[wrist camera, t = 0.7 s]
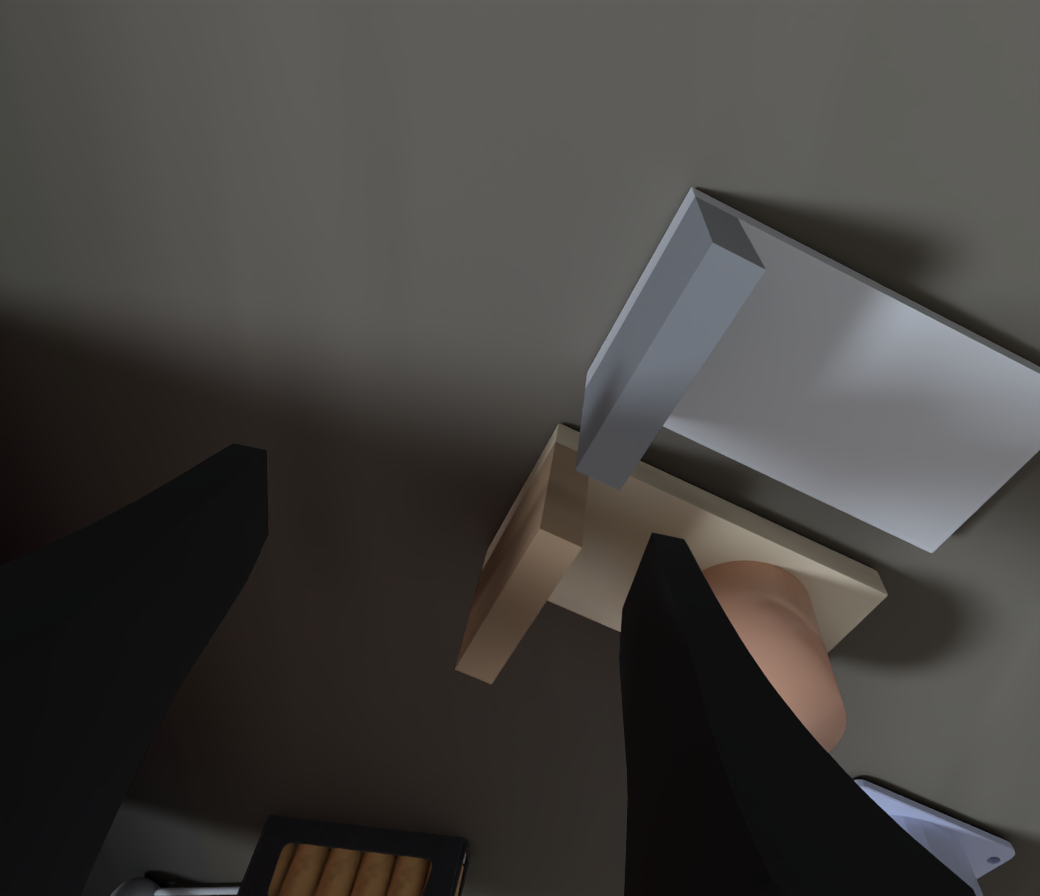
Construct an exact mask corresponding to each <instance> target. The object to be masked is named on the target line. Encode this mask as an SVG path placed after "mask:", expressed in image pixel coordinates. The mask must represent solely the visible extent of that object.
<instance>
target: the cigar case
mask: <svg viewBox="0 0 1040 896" xmlns="http://www.w3.org/2000/svg"><path fill="white" fill-rule="evenodd" d="M469 862H470V858H469V850H468V842H467V841H466V840H465V839H464V838H461V837H452V836H444V835H435V834H426V833H417V832H409V831H400V830H391V829H383V828H374V827H365V826H357V825H348V824H339V823H330V822H322V821H313V820H304V819H296V818H287V817H278V816H269V817H268V819H267V822H266V824H265V826H264V829H263V831H262V834H261V836H260V839H259V841H258V844H257V846H256V849H255V851H254V853H253V856H252V858H251V861H250V863H249V866H248V868H247V871H246V873H245V875H244V878H243V880H242V883H241V885H240V888H239V890H238V893H237V895H236V896H386V895H387V896H422V894H423V896H461V895H462V890H463V886H464V882H465V878H466V874H467V870H468V866H469ZM426 878H427V879H426ZM425 882H426V883H425ZM424 886H425V888H424ZM423 890H424V892H423Z"/></svg>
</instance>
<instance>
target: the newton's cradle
mask: <svg viewBox="0 0 1040 896" xmlns="http://www.w3.org/2000/svg"><path fill="white" fill-rule="evenodd" d="M239 888H240V886H236V887H189V888H160V886H159V885H158V884H157V883H155V882H154V881H152V880H151V879H149V878H141V877H136V878H134V879H131V880H129V881H126V882H124V883H123V884H122V885H121V886H120V887H118V888H117V889H116V890H115V891H114V892H113V893H112V894H111V896H177V895H233V894H237V893H238V890H239Z"/></svg>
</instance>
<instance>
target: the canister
mask: <svg viewBox="0 0 1040 896" xmlns="http://www.w3.org/2000/svg"><path fill="white" fill-rule="evenodd" d="M702 572H703V574H704V576H705V578H706V580H707V582H708V583H709V585H710V587H711V589H712V591H713V592H714V594H715V596H716V598H717V600H718V601H719V603H720V605H721V607H722V608H723V610H724V612H725V613H726V615H727V617H728V618H729V620H730V622H731V623H732V625H733V627H734V628H735V630H736V632H737V633H738V635H739V637H740V638H741V640H742V641H743V643H744V645H745V646H746V648H747V649H748V651H749V652H750V654H751V655H752V657H753V658H754V660H755V661H756V663H757V664H758V666H759V667H760V669H761V670H762V671H763V673H764V674H765V676H766V677H767V679H768V680H769V681H770V683H771V684H772V685H773V687H774V688H775V689H776V691H777V692H778V694H779V695H780V696H781V697H782V699H783V700H784V701H785V702H786V704H787V705H788V706H789V707H790V709H791V710H792V711H793V712H794V714H795V715H796V716H797V717H798V719H799V720H800V721H801V722H802V724H803V725H804V726H805V727H806V728H807V730H808V731H809V732H810V733H811V734H812V735H813V737H814V738H815V739H816V740H817V741H818V742H819V744H820V745H821V746H822V747H823V748H824V749H825V750H826V751H827V752H828V753H829V752H830V751H831V750H832V749H833V748H834V747H835V746H836V745H837V744H838V743H839V741H840V740H841V738H842V736H843V734H844V732H845V728H846V721H847V718H846V711H845V708H844V705H843V702H842V699H841V696H840V692H839V689H838V686H837V683H836V680H835V676H834V673H833V670H832V667H831V664H830V660H829V657H828V654H827V651H826V648H825V644H824V641H823V638H822V635H821V632H820V629H819V625H818V622H817V619H816V616H815V613H814V609H813V606H812V603H811V600H810V597H809V594H808V592H807V590H806V588H805V587H804V586H803V584H802V583H801V582H800V581H799V580H798V579H797V578H796V577H795V576H794V575H792V574H791V573H789V572H788V571H786V570H784V569H782V568H780V567H777V566H775V565H772V564H768V563H764V562H758V561H747V560H743V561H731V562H725V563H721V564H717V565H714V566H712V567H709V568H707V569H705V570H703V571H702Z"/></svg>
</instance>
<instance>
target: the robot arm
mask: <svg viewBox="0 0 1040 896" xmlns="http://www.w3.org/2000/svg"><path fill="white" fill-rule="evenodd" d="M267 536H268V495H267V450H262V449H258V448H253V447H248V446H244V445H239V444H232V445H230V446H228V447H227V448H225V449H223V450H221V451H220V452H218V453H216V454H215V455H213V456H211V457H210V458H208V459H206V460H205V461H203V462H202V463H200V464H198V465H197V466H195V467H193V468H192V469H190V470H188V471H187V472H185V473H183V474H182V475H180V476H178V477H177V478H175V479H173V480H172V481H170V482H168V483H166V484H165V485H163V486H161V487H160V488H158V489H156V490H154V491H153V492H151V493H149V494H148V495H146V496H144V497H142V498H141V499H139V500H137V501H135V502H133V503H131V504H130V505H128V506H126V507H124V508H122V509H120V510H118V511H116V512H114V513H112V514H110V515H109V516H107V517H105V518H103V519H101V520H99V521H97V522H95V523H93V524H91V525H89V526H88V527H86V528H84V529H82V530H79V531H77V532H75V533H73V534H71V535H69V536H67V537H65V538H62V539H60V540H58V541H56V542H54V543H51V544H49V545H47V546H44V547H42V548H40V549H37V550H35V551H33V552H30V553H28V554H26V555H23V556H21V557H18V558H16V559H13V560H11V561H8V562H6V563H3V564H0V896H81V893H82V891H83V888H84V886H85V884H86V881H87V879H88V877H89V874H90V872H91V869H92V867H93V865H94V863H95V861H96V858H97V856H98V854H99V852H100V849H101V847H102V845H103V843H104V840H105V838H106V836H107V834H108V832H109V829H110V827H111V825H112V823H113V820H114V818H115V816H116V814H117V812H118V809H119V807H120V805H121V803H122V801H123V799H124V797H125V794H126V792H127V790H128V788H129V786H130V784H131V782H132V780H133V778H134V776H135V773H136V771H137V769H138V767H139V765H140V763H141V761H142V759H143V757H144V755H145V753H146V751H147V749H148V747H149V745H150V743H151V741H152V739H153V737H154V735H155V733H156V731H157V729H158V727H159V725H160V723H161V721H162V719H163V717H164V715H165V713H166V711H167V709H168V707H169V705H170V703H171V701H172V700H173V698H174V696H175V694H176V693H177V691H178V689H179V687H180V686H181V684H182V682H183V681H184V679H185V677H186V676H187V674H188V673H189V671H190V670H191V668H192V666H193V665H194V663H195V662H196V660H197V659H198V657H199V656H200V654H201V652H202V651H203V649H204V648H205V646H206V645H207V643H208V641H209V640H210V638H211V637H212V635H213V634H214V632H215V631H216V629H217V627H218V626H219V624H220V623H221V621H222V620H223V618H224V616H225V615H226V613H227V612H228V610H229V608H230V607H231V605H232V604H233V602H234V601H235V599H236V597H237V596H238V594H239V593H240V591H241V589H242V588H243V586H244V584H245V583H246V581H247V579H248V577H249V575H250V573H251V571H252V569H253V567H254V565H255V563H256V560H257V558H258V556H259V554H260V552H261V549H262V547H263V545H264V543H265V540H266V538H267ZM619 660H620V677H621V693H622V708H623V722H624V736H625V750H626V764H627V789H628V806H627V839H626V865H625V888H624V896H983V894H982V891H981V889H980V886H979V884H978V881H977V879H978V878H980V877H981V876H983V875H985V874H986V873H988V872H990V871H991V870H993V869H995V868H997V867H998V866H1000V865H1002V864H1003V863H1005V862H1007V861H1008V860H1010V859H1012V858H1013V857H1014V855H1015V851H1014V849H1013V847H1012V845H1011V843H1010V842H1008V841H1006V840H1004V839H1001V838H999V837H997V836H994V835H992V834H990V833H987V832H985V831H983V830H980V829H978V828H976V827H973V826H971V825H969V824H966V823H964V822H961V821H959V820H957V819H954V818H952V817H950V816H947V815H945V814H943V813H940V812H938V811H936V810H933V809H931V808H929V807H926V806H924V805H922V804H919V803H917V802H915V801H912V800H910V799H908V798H905V797H903V796H901V795H898V794H896V793H894V792H891V791H889V790H887V789H884V788H882V787H880V786H877V785H875V784H873V783H870V782H868V781H866V780H862V779H856V780H853V779H852V778H851V777H850V776H849V775H848V774H847V773H846V772H845V771H844V770H843V769H842V768H841V766H840V765H839V764H838V763H837V762H836V761H835V760H834V759H833V758H832V757H831V756H830V754H829V753H828V752H827V751H826V750H825V749H824V748H823V747H822V746H821V745H820V744H819V742H818V741H817V740H816V739H815V738H814V737H813V735H812V734H811V733H810V732H809V731H808V730H807V728H806V727H805V726H804V725H803V724H802V722H801V721H800V720H799V719H798V717H797V716H796V715H795V714H794V712H793V711H792V710H791V709H790V707H789V706H788V705H787V704H786V702H785V701H784V700H783V699H782V697H781V696H780V695H779V694H778V692H777V691H776V689H775V688H774V687H773V685H772V684H771V683H770V681H769V680H768V679H767V677H766V676H765V674H764V673H763V671H762V670H761V669H760V667H759V666H758V664H757V663H756V661H755V660H754V658H753V657H752V655H751V654H750V652H749V651H748V649H747V648H746V646H745V645H744V643H743V641H742V640H741V638H740V637H739V635H738V633H737V632H736V630H735V628H734V627H733V625H732V623H731V622H730V620H729V618H728V617H727V615H726V613H725V612H724V610H723V608H722V607H721V605H720V603H719V601H718V600H717V598H716V596H715V594H714V592H713V591H712V589H711V587H710V585H709V583H708V582H707V580H706V578H705V576H704V574H703V572H702V571H701V569H700V567H699V565H698V563H697V561H696V559H695V557H694V556H693V554H692V552H691V550H690V548H689V546H688V545H687V543H686V541H685V540H684V539H681V538H677V537H672V536H667V535H663V534H658V533H653V532H652V533H651V536H650V538H649V541H648V544H647V546H646V549H645V551H644V554H643V556H642V559H641V562H640V564H639V567H638V569H637V572H636V574H635V577H634V579H633V582H632V585H631V587H630V590H629V592H628V595H627V597H626V600H625V603H624V605H623V608H622V620H621V635H620V656H619Z"/></svg>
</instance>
